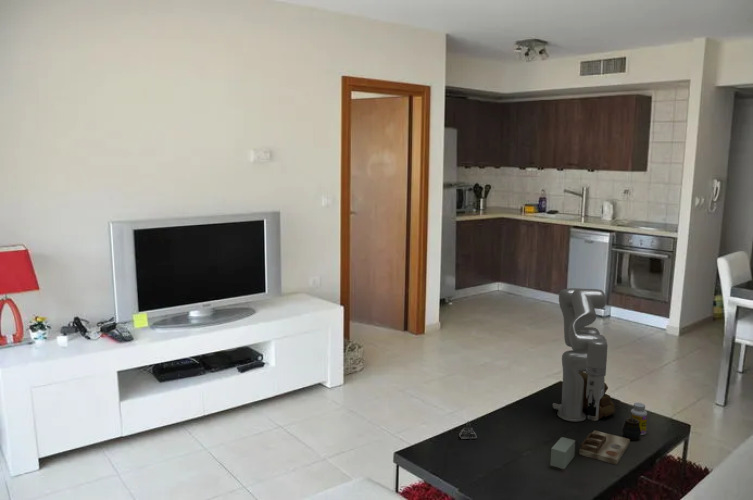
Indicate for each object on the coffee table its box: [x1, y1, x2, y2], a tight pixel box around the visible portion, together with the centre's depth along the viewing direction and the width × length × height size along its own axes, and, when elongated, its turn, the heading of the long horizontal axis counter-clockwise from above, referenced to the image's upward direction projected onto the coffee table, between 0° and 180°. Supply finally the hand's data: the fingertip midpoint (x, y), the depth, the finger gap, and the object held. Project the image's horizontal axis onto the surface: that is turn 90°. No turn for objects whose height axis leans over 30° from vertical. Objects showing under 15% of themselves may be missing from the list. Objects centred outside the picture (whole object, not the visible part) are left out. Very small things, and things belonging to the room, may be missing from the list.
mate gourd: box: [622, 411, 641, 441], centre depth 263 cm, size 7×8×10 cm
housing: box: [550, 436, 576, 470], centre depth 243 cm, size 6×12×7 cm, turn 145°
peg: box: [587, 398, 599, 422], centre depth 248 cm, size 4×4×9 cm
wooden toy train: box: [579, 372, 616, 420], centre depth 289 cm, size 20×11×17 cm, turn 36°
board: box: [578, 429, 631, 465], centre depth 253 cm, size 15×22×4 cm
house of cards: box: [458, 420, 478, 439], centre depth 265 cm, size 9×9×8 cm
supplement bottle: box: [629, 402, 648, 436], centre depth 268 cm, size 7×7×13 cm
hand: (593, 413), depth 248 cm, fingers closed on peg, 4 cm apart
